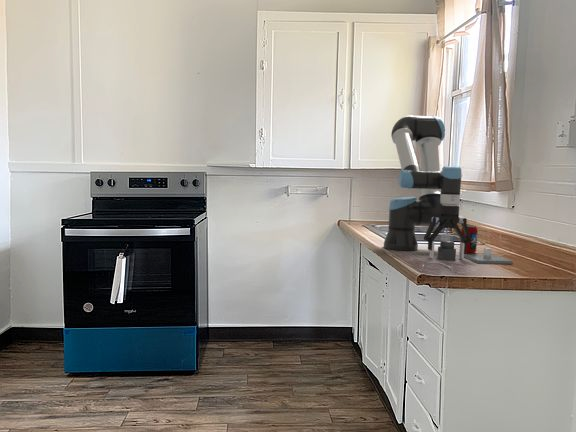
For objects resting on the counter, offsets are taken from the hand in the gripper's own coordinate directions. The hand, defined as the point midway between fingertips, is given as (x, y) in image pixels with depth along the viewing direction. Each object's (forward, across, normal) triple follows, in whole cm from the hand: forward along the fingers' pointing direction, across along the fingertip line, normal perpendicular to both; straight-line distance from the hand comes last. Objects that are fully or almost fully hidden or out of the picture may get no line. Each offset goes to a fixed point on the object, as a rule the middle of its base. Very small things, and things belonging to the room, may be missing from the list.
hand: (446, 258), depth 204 cm
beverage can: (0, +16, +17) cm, 23 cm away
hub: (0, +16, -2) cm, 16 cm away
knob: (0, 0, 0) cm, 0 cm away
